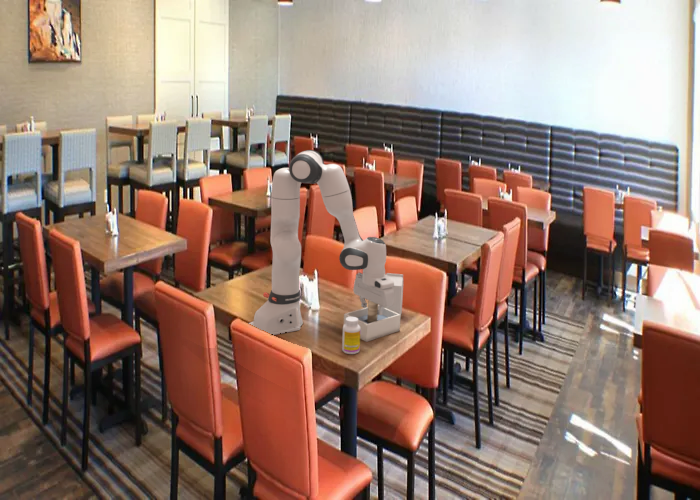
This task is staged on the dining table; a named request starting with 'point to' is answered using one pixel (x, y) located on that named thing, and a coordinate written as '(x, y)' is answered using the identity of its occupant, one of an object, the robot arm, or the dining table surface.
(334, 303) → the dining table surface
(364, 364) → the dining table surface
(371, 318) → the peg
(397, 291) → the milk carton
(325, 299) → the dining table surface
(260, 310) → the robot arm
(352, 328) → the supplement bottle
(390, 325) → the socket box
